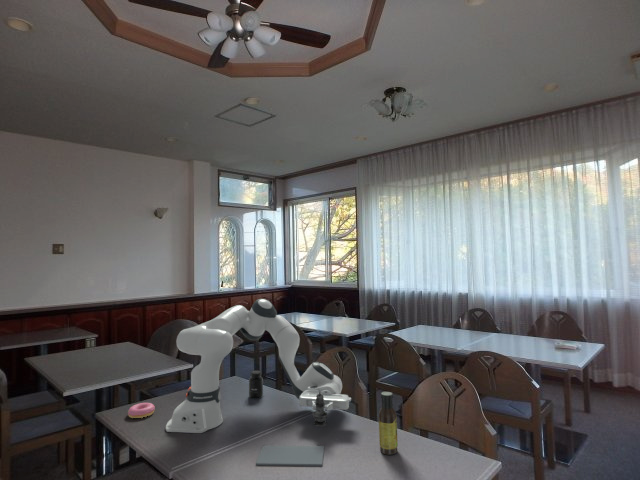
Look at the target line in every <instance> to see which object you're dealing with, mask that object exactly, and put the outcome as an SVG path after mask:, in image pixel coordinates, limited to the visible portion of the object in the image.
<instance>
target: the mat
mask: <svg viewBox="0 0 640 480" xmlns="http://www.w3.org/2000/svg"><path fill="white" fill-rule="evenodd" d="M324 452H325V445H272V444H271V445H268V444H267V445H262V448H261V450H260V452H259V455H258V456H257V457H258V458H257V459H256V463H255V465H256V466H282V467H283V466H287V467H290V466H291V467H293V466H295V467H296V466H297V467H302V466H303V467H322V466H323V463H324V462H323V461H324Z"/></svg>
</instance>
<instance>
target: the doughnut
mask: <svg viewBox="0 0 640 480" xmlns="http://www.w3.org/2000/svg"><path fill="white" fill-rule="evenodd" d="M155 407H156V406H155V404H153V403H152V402H141V403H136V404H134V405H132V406H130V408H129V409H128V411H127V414H128V417H129V418H131V419H133V418H141V419H144V418H143V417H145V418H148V417H150V416H151V415H153V414H154V412H155V409H156V408H155ZM147 416H148V417H147Z"/></svg>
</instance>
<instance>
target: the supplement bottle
mask: <svg viewBox="0 0 640 480" xmlns="http://www.w3.org/2000/svg"><path fill="white" fill-rule="evenodd" d="M261 375H262V371H261V370H252V371H251V372H250V378H248V398H249V399H252V400H253V399H254V400H256V399H257V400H258V399H260V398H262V397H264V396H263V395H264V379H263V377H262V376H261Z"/></svg>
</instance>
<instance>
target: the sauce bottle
mask: <svg viewBox="0 0 640 480" xmlns="http://www.w3.org/2000/svg"><path fill="white" fill-rule="evenodd" d="M380 394H381V395H380V398H381V407H380V409H379V412H378V435H379V437H378V438H379V450H380V451H379V452H381V454H382V455H383V454H384V455H394V454H396V453H397V452H398V446H399V445H398V444H399V443H398V442H399V441H398V421H397V419H398V417H397V413H396V410H395V409H394V407H393V406H394V405H393V397H394V394H393V392H390V391H382V392H381V393H380Z"/></svg>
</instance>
